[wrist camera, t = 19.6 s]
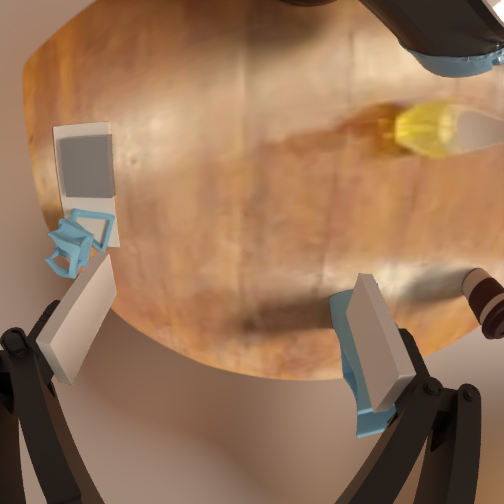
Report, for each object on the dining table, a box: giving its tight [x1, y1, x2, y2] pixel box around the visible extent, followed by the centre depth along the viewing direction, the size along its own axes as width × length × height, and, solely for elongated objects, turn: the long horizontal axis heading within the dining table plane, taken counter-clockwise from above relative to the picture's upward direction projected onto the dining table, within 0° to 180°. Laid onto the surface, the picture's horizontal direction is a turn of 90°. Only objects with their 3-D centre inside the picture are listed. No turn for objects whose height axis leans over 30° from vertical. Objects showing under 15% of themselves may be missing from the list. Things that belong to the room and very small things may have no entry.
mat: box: [53, 121, 120, 247], centre depth 46 cm, size 22×11×1 cm, turn 175°
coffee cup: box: [462, 269, 504, 339], centre depth 48 cm, size 10×10×15 cm
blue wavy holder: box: [329, 284, 399, 438], centre depth 47 cm, size 10×10×25 cm
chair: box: [45, 208, 115, 278], centre depth 44 cm, size 8×8×12 cm
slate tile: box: [60, 134, 115, 198], centre depth 43 cm, size 10×2×9 cm
